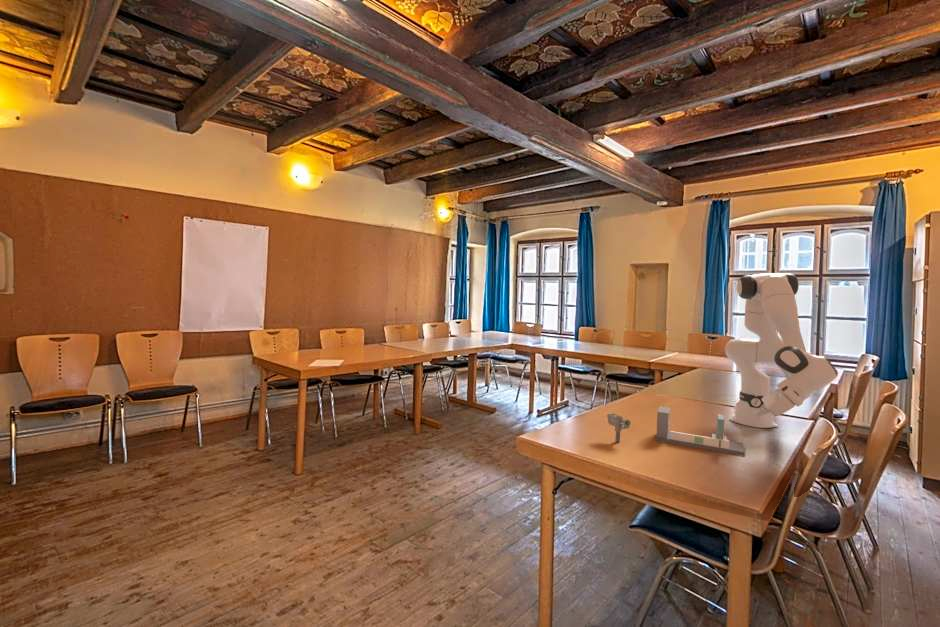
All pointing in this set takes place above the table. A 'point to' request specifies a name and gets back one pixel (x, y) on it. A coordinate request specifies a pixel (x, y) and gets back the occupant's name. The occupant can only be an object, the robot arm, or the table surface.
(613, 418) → the mechanical component
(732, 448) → the bench
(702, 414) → the table surface
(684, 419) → the table surface
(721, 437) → the block
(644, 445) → the table surface
